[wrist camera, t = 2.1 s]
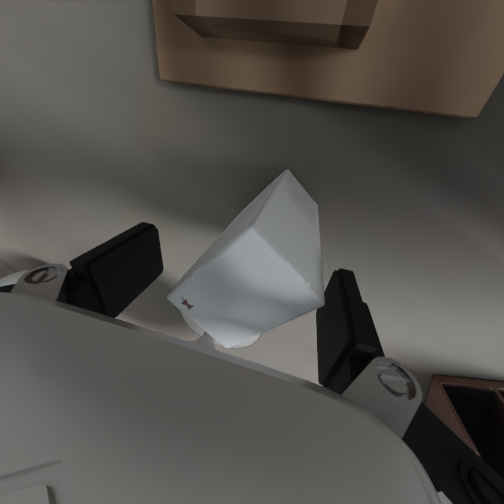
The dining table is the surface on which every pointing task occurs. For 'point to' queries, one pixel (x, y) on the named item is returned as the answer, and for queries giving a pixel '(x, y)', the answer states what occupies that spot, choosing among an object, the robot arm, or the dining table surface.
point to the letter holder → (472, 414)
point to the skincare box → (258, 267)
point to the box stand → (338, 50)
